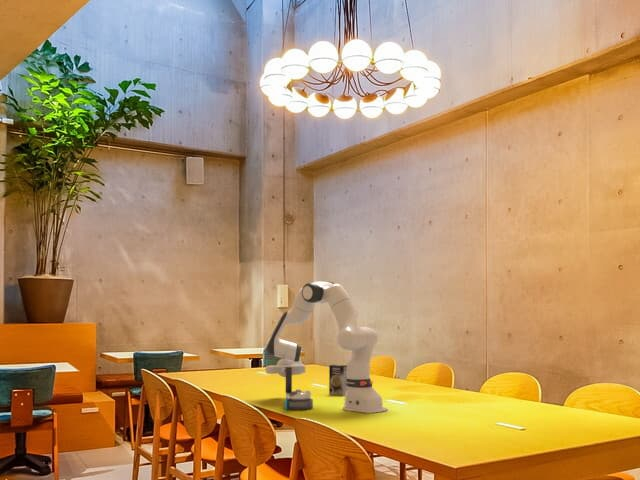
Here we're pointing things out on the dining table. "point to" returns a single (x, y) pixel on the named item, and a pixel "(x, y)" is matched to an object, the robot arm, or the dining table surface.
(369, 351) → the robot arm
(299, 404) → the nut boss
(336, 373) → the coffee box
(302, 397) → the disc with upright handle
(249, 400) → the dining table surface
